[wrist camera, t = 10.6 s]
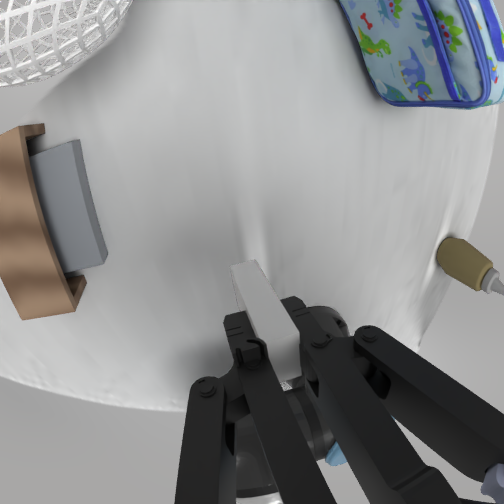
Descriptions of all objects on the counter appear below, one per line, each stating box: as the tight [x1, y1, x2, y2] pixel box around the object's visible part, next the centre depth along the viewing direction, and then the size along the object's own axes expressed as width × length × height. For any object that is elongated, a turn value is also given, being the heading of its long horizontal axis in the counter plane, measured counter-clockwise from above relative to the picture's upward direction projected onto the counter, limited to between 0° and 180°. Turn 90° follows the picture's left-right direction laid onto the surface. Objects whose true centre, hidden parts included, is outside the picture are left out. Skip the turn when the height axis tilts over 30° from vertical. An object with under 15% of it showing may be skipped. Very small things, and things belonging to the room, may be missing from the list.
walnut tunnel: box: [0, 123, 87, 320], centre depth 26 cm, size 22×9×7 cm, turn 6°
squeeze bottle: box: [437, 238, 504, 295], centre depth 43 cm, size 8×8×18 cm
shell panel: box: [29, 139, 108, 273], centre depth 29 cm, size 15×12×4 cm
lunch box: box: [339, 0, 504, 110], centre depth 19 cm, size 26×11×21 cm, turn 20°
